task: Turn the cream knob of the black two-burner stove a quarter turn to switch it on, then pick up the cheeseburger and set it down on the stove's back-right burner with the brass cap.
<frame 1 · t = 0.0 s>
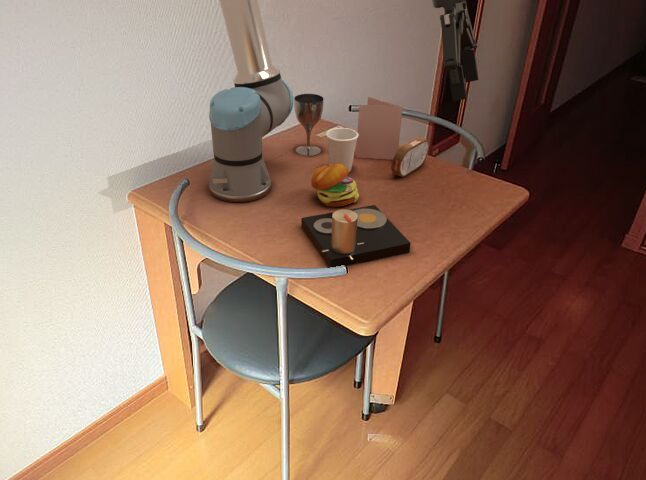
hand: (466, 90, 117), 28 cm above the table, tool tilted 20°, fingers open, 13 cm apart
cheeseburger: (334, 200, 134), on the table
burners: (350, 221, 120), on the stove, point 2 cm above the table
wine glass: (308, 151, 157), on the table
stove knob: (344, 231, 110), point 6 cm above the table, hinge at 0.0°
greeting card: (374, 157, 155), on the table
dixie cup: (340, 169, 148), on the table
tin: (409, 171, 148), on the table
stove: (353, 239, 120), on the table
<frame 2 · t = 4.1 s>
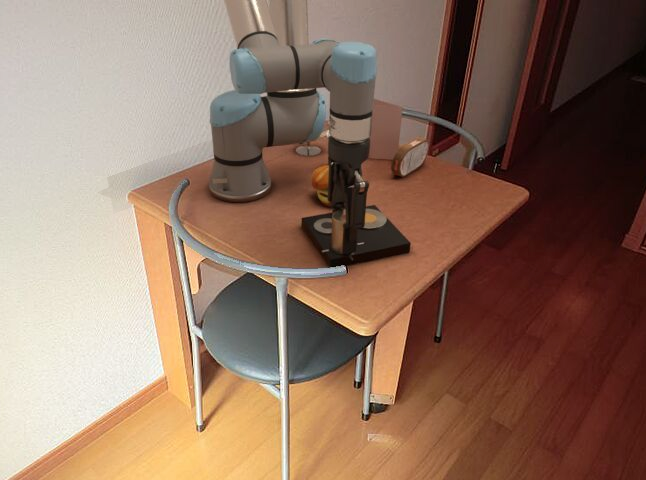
hand: (343, 244, 112), 3 cm above the table, tool pointing down, fingers closed on stove knob, 5 cm apart
stove knob: (344, 231, 110), point 6 cm above the table, hinge at 0.0°, touching gripper
everything else where it was.
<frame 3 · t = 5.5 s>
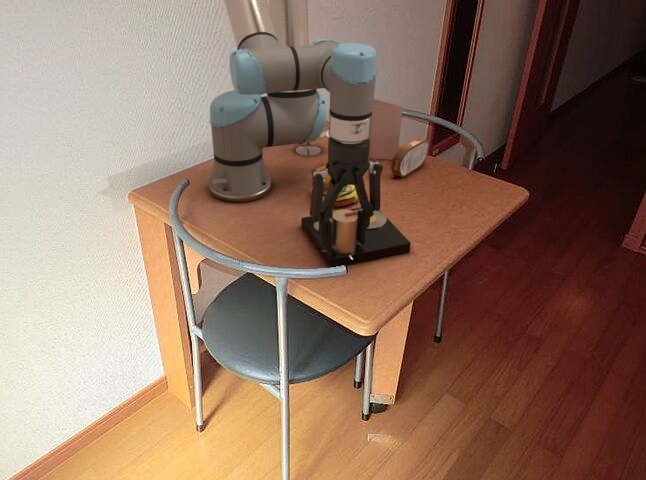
hand: (343, 244, 112), 3 cm above the table, tool pointing down, fingers open, 7 cm apart
stove knob: (344, 231, 110), point 6 cm above the table, hinge at 90.3°
everything else where it was.
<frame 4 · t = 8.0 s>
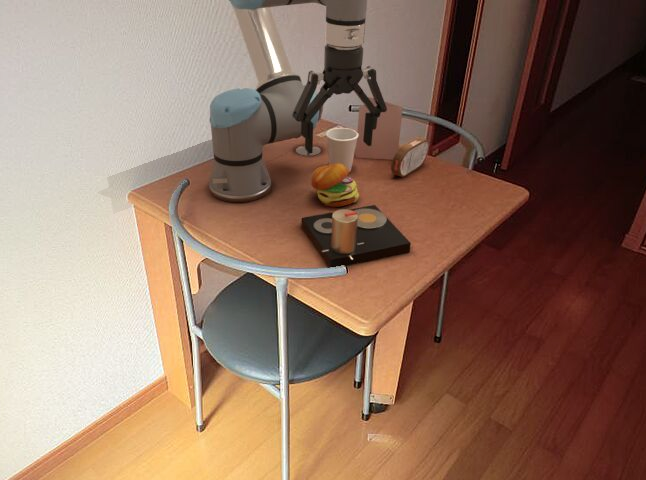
hand: (338, 147, 119), 16 cm above the table, tool pointing down, fingers open, 13 cm apart
nothing on the table moved.
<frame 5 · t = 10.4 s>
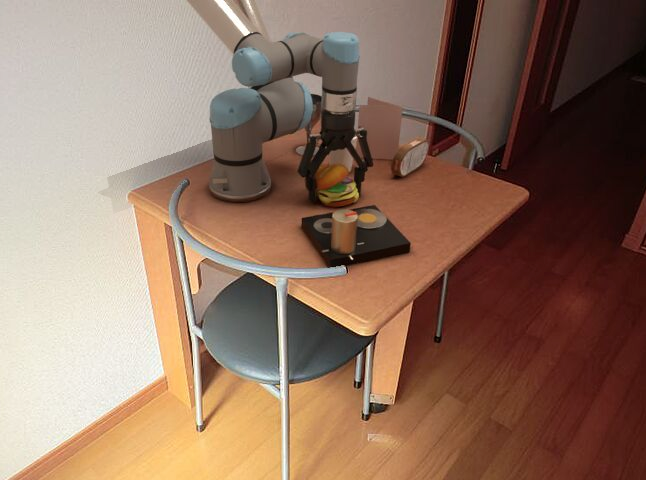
hand: (334, 197, 134), 1 cm above the table, tool pointing down, fingers closed on cheeseburger, 11 cm apart
cheeseburger: (334, 200, 134), on the table, touching gripper
everything else where it was.
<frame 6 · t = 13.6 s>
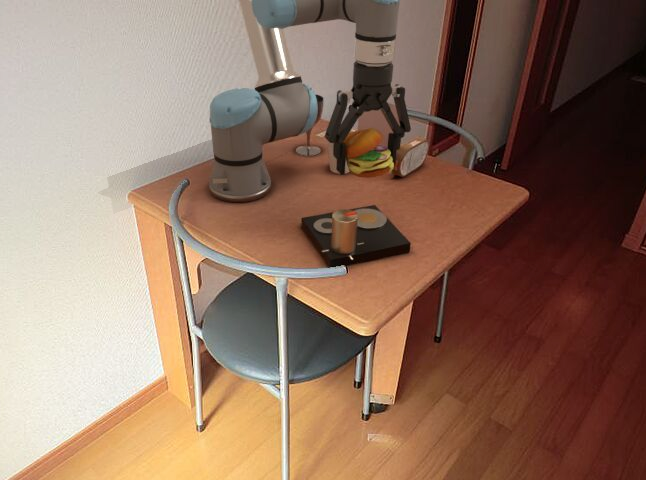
hand: (365, 168, 117), 14 cm above the table, tool pointing down, fingers closed on cheeseburger, 11 cm apart
cheeseburger: (365, 171, 117), point 13 cm above the table, touching gripper
everything else where it was.
when the fingers open (3 cm above the table, at t = 16.7 s): cheeseburger stays where it is, resting on burners.
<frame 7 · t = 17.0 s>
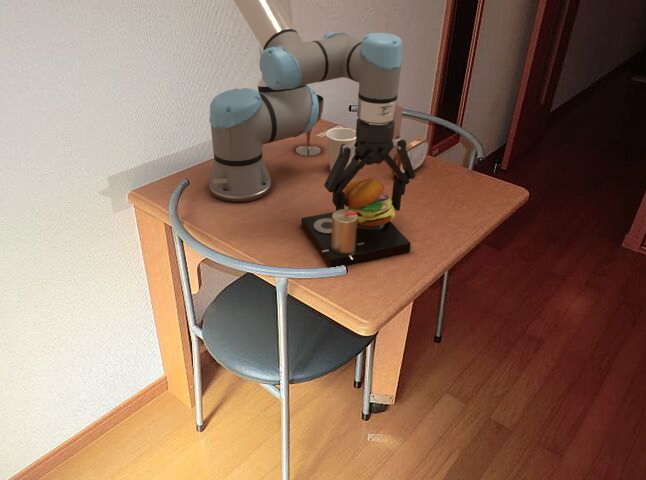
hand: (367, 212, 121), 4 cm above the table, tool pointing down, fingers open, 13 cm apart
cheeseburger: (367, 218, 122), point 3 cm above the table, touching burners
everything else where it was.
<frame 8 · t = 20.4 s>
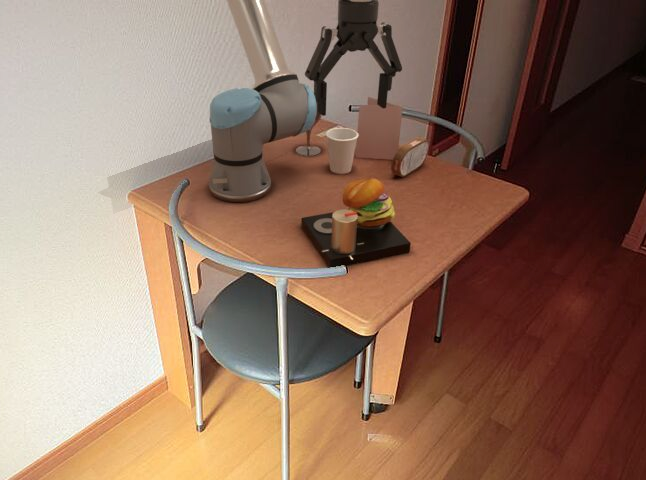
hand: (352, 109, 115), 25 cm above the table, tool pointing down, fingers open, 13 cm apart
nothing on the table moved.
at the end: stove knob at +90° (first picture: +0°); cheeseburger 0.0 cm from the target spot on the stove, point 2.8 cm above the stove's base; cheeseburger tilted 0° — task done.
